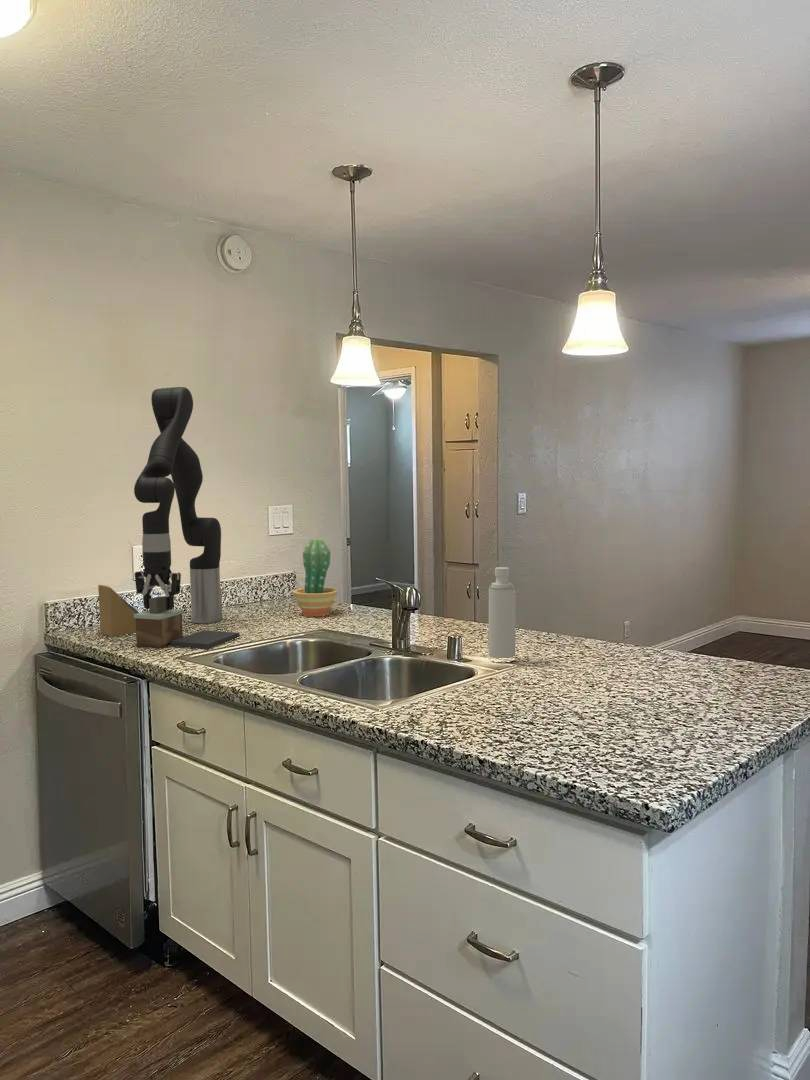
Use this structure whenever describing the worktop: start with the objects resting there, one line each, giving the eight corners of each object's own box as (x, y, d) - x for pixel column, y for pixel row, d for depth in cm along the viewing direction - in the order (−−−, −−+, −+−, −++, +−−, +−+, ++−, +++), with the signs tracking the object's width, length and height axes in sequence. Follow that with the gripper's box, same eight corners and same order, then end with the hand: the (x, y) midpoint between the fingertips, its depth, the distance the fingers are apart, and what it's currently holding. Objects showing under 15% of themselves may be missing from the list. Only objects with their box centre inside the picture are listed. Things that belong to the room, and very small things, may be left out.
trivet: (204, 635, 240) (204, 630, 240) (239, 637, 236) (239, 632, 236) (170, 646, 225) (170, 641, 225) (207, 649, 221) (207, 644, 221)
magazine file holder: (161, 630, 248) (159, 581, 246) (111, 638, 238) (109, 587, 236) (148, 626, 254) (147, 579, 253) (100, 634, 244) (97, 584, 243)
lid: (158, 614, 234) (157, 594, 234) (183, 616, 231) (182, 595, 231) (134, 621, 224) (133, 599, 224) (160, 623, 221) (159, 601, 221)
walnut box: (159, 639, 235) (158, 611, 234) (182, 641, 232) (181, 613, 231) (136, 646, 225) (135, 617, 224) (160, 648, 222) (159, 619, 222)
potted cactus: (348, 613, 273) (347, 539, 271) (314, 620, 262) (312, 542, 260) (317, 608, 283) (316, 536, 281) (282, 615, 272) (281, 540, 270)
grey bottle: (506, 664, 201) (507, 563, 199) (483, 660, 205) (483, 562, 203) (520, 659, 207) (520, 561, 204) (497, 655, 211) (497, 559, 208)
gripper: (186, 549, 227) (188, 608, 229) (143, 547, 232) (146, 605, 234) (170, 551, 220) (172, 613, 222) (126, 550, 225) (128, 610, 227)
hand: (158, 609), depth 228 cm, fingers open, 6 cm apart
